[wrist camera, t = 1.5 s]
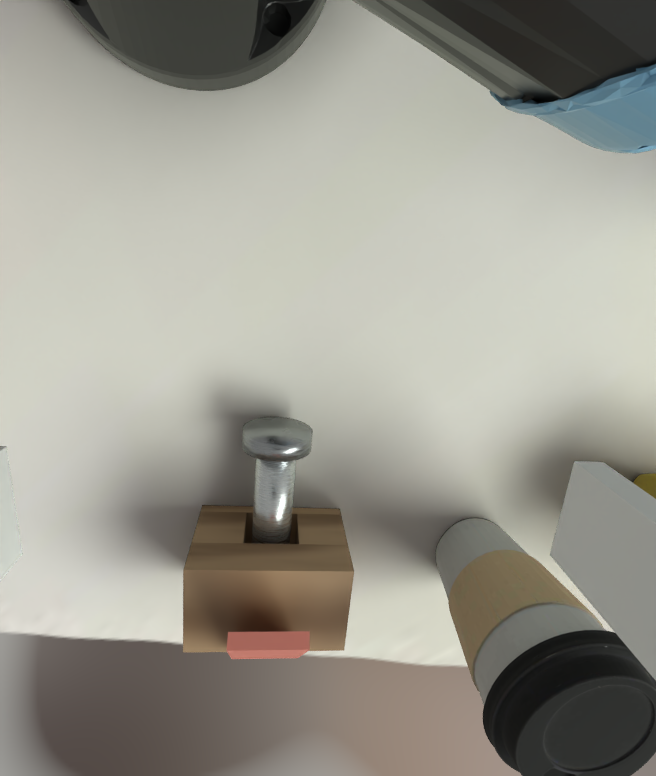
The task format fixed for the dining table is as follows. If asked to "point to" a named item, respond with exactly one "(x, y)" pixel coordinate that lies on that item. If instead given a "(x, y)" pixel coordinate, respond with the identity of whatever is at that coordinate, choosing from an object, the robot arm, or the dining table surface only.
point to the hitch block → (266, 579)
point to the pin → (275, 473)
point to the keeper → (267, 644)
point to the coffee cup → (543, 662)
